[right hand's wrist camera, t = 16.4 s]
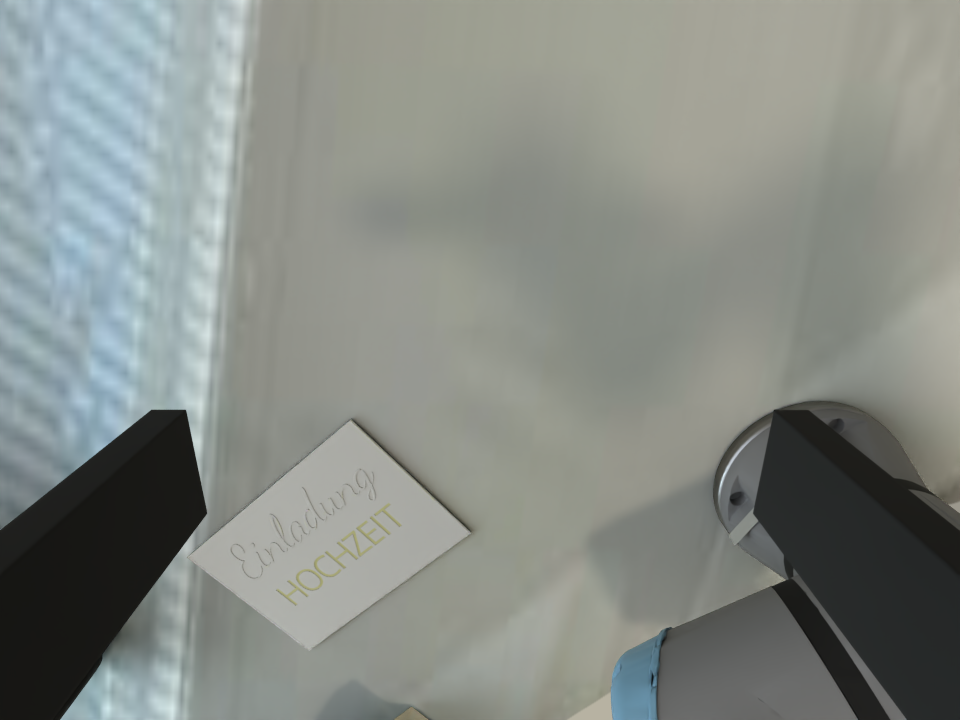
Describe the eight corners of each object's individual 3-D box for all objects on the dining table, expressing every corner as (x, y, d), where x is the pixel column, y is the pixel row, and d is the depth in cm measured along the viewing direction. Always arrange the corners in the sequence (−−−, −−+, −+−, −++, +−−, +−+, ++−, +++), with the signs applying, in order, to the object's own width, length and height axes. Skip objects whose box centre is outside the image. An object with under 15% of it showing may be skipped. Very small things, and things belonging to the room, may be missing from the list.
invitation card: (308, 651, 55) (186, 558, 51) (309, 648, 55) (188, 556, 51) (470, 534, 50) (350, 420, 46) (470, 532, 50) (351, 419, 46)
